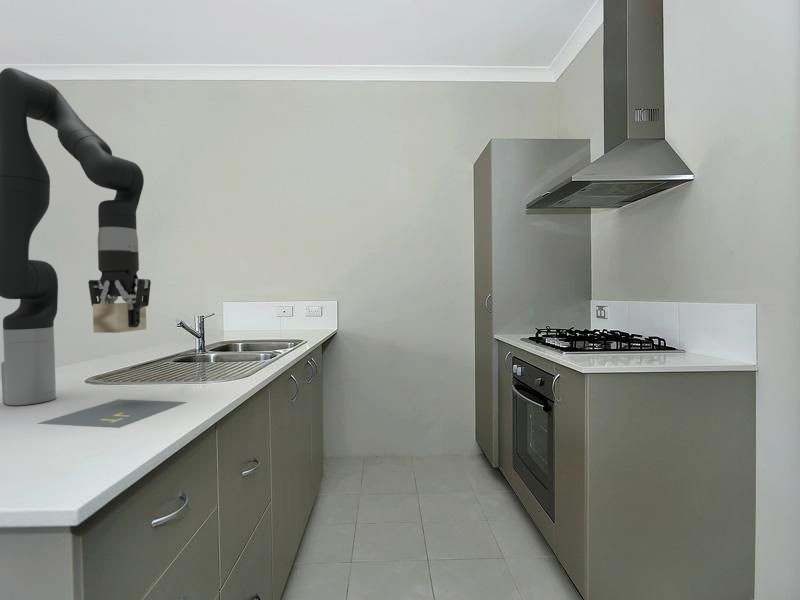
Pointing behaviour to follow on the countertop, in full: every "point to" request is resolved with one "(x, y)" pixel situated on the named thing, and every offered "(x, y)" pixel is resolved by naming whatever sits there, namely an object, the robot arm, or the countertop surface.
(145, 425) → the countertop surface
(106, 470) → the countertop surface
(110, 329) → the beech block
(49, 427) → the countertop surface
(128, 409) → the grey mat
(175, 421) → the countertop surface
